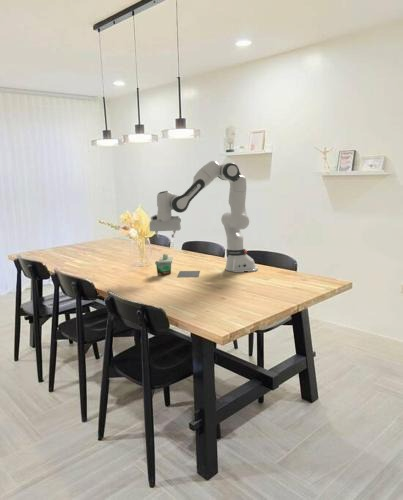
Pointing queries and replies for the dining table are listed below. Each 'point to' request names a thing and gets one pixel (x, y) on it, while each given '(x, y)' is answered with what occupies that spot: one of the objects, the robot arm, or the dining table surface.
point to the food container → (163, 268)
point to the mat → (188, 274)
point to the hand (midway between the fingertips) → (165, 237)
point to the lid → (165, 259)
